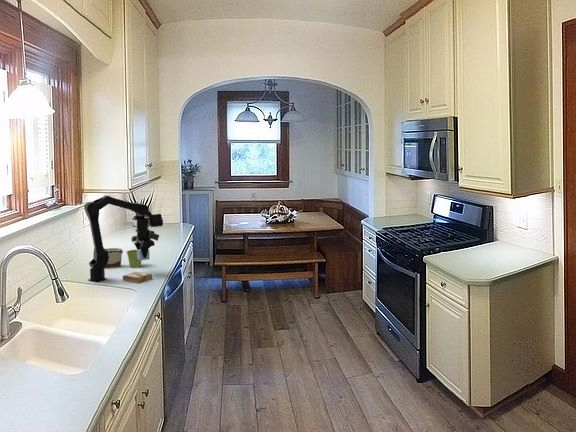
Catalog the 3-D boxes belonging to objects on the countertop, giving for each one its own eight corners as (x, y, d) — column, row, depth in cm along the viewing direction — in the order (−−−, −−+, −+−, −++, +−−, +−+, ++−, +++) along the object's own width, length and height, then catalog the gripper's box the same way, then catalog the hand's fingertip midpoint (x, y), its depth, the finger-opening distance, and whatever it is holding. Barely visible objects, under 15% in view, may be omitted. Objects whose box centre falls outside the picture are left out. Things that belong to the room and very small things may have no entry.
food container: (122, 264, 290) (121, 247, 289) (123, 266, 285) (123, 249, 284) (99, 266, 285) (98, 248, 284) (100, 268, 280) (99, 250, 278)
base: (138, 283, 252) (138, 278, 251) (122, 280, 256) (122, 275, 255) (151, 278, 261) (151, 273, 260) (136, 276, 265) (136, 271, 264)
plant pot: (125, 268, 281) (125, 253, 280) (127, 264, 290) (127, 249, 289) (143, 268, 283) (142, 252, 282) (144, 264, 292) (144, 249, 291)
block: (149, 259, 268) (149, 250, 267) (140, 260, 265) (140, 251, 264) (146, 257, 272) (146, 248, 271) (137, 258, 269) (136, 249, 268)
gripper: (163, 229, 263) (164, 258, 265) (151, 224, 278) (151, 252, 280) (142, 230, 257) (143, 261, 259) (130, 225, 272) (131, 254, 274)
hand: (143, 257), depth 268 cm, fingers closed on block, 5 cm apart
